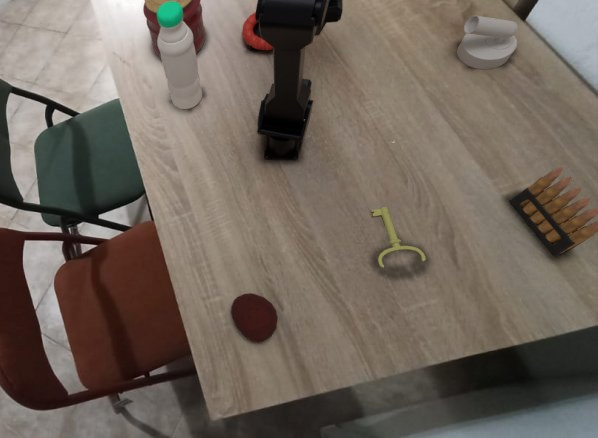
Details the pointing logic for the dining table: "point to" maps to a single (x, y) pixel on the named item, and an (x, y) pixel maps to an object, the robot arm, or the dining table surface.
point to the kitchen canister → (190, 17)
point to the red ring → (253, 35)
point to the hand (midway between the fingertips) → (316, 17)
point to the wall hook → (487, 42)
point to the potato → (254, 316)
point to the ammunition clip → (555, 213)
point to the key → (392, 235)
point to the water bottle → (178, 56)
